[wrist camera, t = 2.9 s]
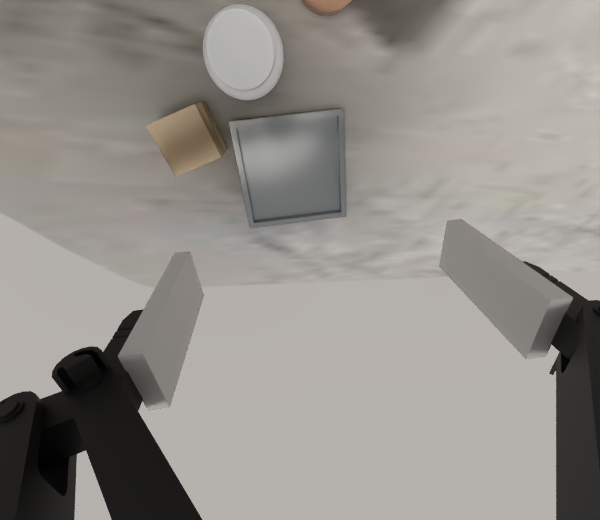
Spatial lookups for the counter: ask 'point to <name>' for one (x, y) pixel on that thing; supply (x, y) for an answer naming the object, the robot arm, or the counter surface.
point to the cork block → (188, 138)
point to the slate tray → (291, 166)
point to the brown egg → (326, 6)
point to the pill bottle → (243, 52)
